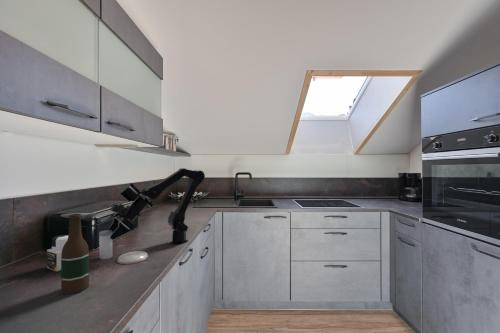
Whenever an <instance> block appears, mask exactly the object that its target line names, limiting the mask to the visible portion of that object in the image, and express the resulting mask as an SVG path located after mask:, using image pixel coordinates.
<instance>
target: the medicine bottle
mask: <svg viewBox="0 0 500 333" xmlns="http://www.w3.org/2000/svg"><path fill="white" fill-rule="evenodd" d="M67 240H68V234H62V235H56V236H54V237H53V238H52V239H51V248H49V249H46V268H47V269H49V270H52V271H54V272H61V254H62V249H63V246H64V244H65V243H66V241H67Z"/></svg>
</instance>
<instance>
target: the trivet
mask: <svg viewBox="0 0 500 333" xmlns="http://www.w3.org/2000/svg"><path fill="white" fill-rule="evenodd" d="M148 258H149V254H148V253H147V252H146V251H141V250H139V251H136V250H135V251H129V252H125V253H123V254H121V255H119V257H118V258H117V260H116V262H117V263H118V264H121V265H132V264H133V265H134V264H137V263H141V262H144V261H146V260H148Z"/></svg>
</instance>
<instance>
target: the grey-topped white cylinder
mask: <svg viewBox="0 0 500 333" xmlns="http://www.w3.org/2000/svg"><path fill="white" fill-rule="evenodd" d="M112 234H113V232H112V231H111V230H108V229H107V230H101V231H99V232H98V235H99V237H98V238H99V240H98V241H99V244H98V245H99V259H100V260H108V259H111V258H112V257H113V239H111V238H110V237H111V235H112Z"/></svg>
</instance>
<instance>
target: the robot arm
mask: <svg viewBox="0 0 500 333" xmlns="http://www.w3.org/2000/svg"><path fill="white" fill-rule="evenodd" d="M184 177H185V178H188V183H187V184H188V185H187V187H186V189H185V190H184V192H183V195H182V197H181V200H180V202H179V204H178V205H177V208H176V209H175V210H171V211H170V214H169V216H168V217H167V224H168V226H169V227H171V230H172V241H170V244H176V245H182V244H185V243H187V242H188V241H189V239H187V232H188V228H189V226H188V225H186V224H185V220H186V212H187V209H188V207H189V205H190V203H191V201H192V199H193V197H194V195H195V192H196V190H197V188H198V187H199V186H200V185H201V184H202V183H203V181H204V180H205V178H206V176H205V172H204V171H203V170H196V169H195V170H191V169H187V168H183V167H182V168H179V169H178V170H176V171H175V172H173V173H172V174H170V175H169V176H167V177H166V178H164V179H162V180H160V181H159V182H156V183H153V184H150V185H149V186H146V187H145V188H144V189H138V188H137V187H136V185H134V184H133V183H132V182H130V183H129V184H127V185H126V186H125V187H122V188H121V190H120V191H119V192H118V194H119V195H120V196H121V197H123V198H124V199H125V200H126V201H127V202H129V203H130V202H132V203H131V204H130V205H126V206H125V205H124V204H122V203H119V204H116V203H112V205H111V207H110V208H109V211H111V212H113V213H114V214H112V223H111V225H110V226H109V228H108V229H107V230H111V231H112V235H111V237H110V238H111V239H112V240H114V239H115V238H118V237H119V236H122V235H124V234H126V233H129V232H131V231H133V230H134V229H135V228H136V225H137V224H136V223H135V222H134V220H135V219H136V218H137V217H140V216H141V213H142V212H143V211H144V210H145V209H146V208H147V207H150V208H153V206H154V204H153V200H155V199H158V198H159V196H160V195H161V194H162V193H164V191H165V190H166V189H167V188H169V187H171V186H172V185H174V184H175V183H177V182H178V181H179V180H181V179H182V178H184ZM142 196H143V197H142ZM149 199H150V200H149Z"/></svg>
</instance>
